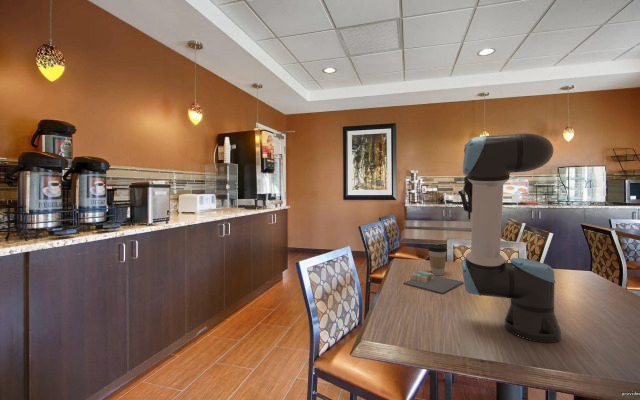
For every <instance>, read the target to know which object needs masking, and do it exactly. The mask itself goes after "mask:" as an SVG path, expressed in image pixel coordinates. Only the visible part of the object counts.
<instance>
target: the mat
mask: <svg viewBox="0 0 640 400" xmlns="http://www.w3.org/2000/svg"><path fill="white" fill-rule="evenodd" d="M463 284H464V281H461V280H458V279H452V278H447V277H444V276H443V277H442V276H440V275H434V279H433V280H430V281H428V282H426V283H423V282H419V281H415V280H411V279H409V280H407V281H403V285H405V286H409V287H413V288H417V289H421V290H424V291H429V292H432V293H436V294H440V295H444V294H447V293H449V292H451V291H452V290H453V289H456V288H457V287H460V286H462V285H463Z"/></svg>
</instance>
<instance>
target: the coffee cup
mask: <svg viewBox="0 0 640 400" xmlns="http://www.w3.org/2000/svg"><path fill="white" fill-rule="evenodd" d="M427 249H428V253H429V255H428V258H429V265H430V269H431V273H432V274H434V275H435V276H443V275H444V274H445V268H446V260H447V252H448V249H447V247H446V246H444V245H438V244H437V245H436V244H435V245H429V246H428V248H427Z"/></svg>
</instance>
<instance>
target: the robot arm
mask: <svg viewBox="0 0 640 400" xmlns="http://www.w3.org/2000/svg"><path fill="white" fill-rule="evenodd" d="M463 152H464V155H463V164H462V173H463V175H464V176H465V177H464V178H463V179H464V180H463V181H464V184H463V185H464V186H463V188H462V189H461V190H459V191H458V194H459V196H460V199H461V202H462V207H463V211H465V212H467V213H468V214H467V215H468V220H469V221H470V222H469V223H470V225H469V226H470V227H471V239H470V241H471V243H470V244H471V245H470V246H471V247H470V251H469V252H467V254H466V256H465V258H464V259H461V261H460V262H461V269H462V276H463V282H464V283H463V284H464V289H465V292H467V293H468V294H470V295H474V296H479V297H484V296H485V297H493V298H494V297H495V298H503V299H510V306H509V308H508V309H507V312H506V315H505V317H504V328H505V327H506V328H505V330H507V331H508V330H509V331H510V332H509V331H508V332H509V333H511V332H512V333H514V334H516V335H519V336H521V337H524V338H528V339H531V340H530V341H532V340H535V341H534V342H537V341H542V342H541V343H546V342H551V343H555V342H554V341H557V342H559V341H560V340H561V339H562V330H561V327H560V324H559V321H558V319H557V316H556V314H555V284H556V277H555V270H554V269H553V267H551V266H550V265H549V264H546V263H544V262H540V261H537V260H534V259H533V260H532V259H529V258H521V257H513V258H511V260H510V262H506V259H505V257H503V255H502V254H501V238H502V222H503V221H502V220H503V219H502V218H503V199H504V198H503V197H504V184H506V183H507V182H508V181H509V180H510V174H511V173H512V174H513V173H525V172H530V171H535V170H537V169H539V168H541V167H543V166H545V165H546V164H547V163H548V162H549V161H550V160H551V158H553V155H554V145H553V143H552V142H551V141H550V140H549V139H548V138H547V137H545V136H543V135H539V134H535V133H525V132H522V133H512V134H510V133H509V134H497V135H481V136H475V137H471V138H470V139H469V140H468V141H467V142H466V143H464V150H463ZM466 195H467V197H466ZM512 333H511V334H512ZM514 334H513V335H514ZM516 335H515V336H516ZM519 336H518V337H519ZM521 337H520V338H521ZM524 338H523V339H524ZM560 338H561V339H560ZM528 339H527V340H528ZM559 339H560V340H559ZM558 340H559V341H558Z"/></svg>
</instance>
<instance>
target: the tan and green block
mask: <svg viewBox="0 0 640 400" xmlns="http://www.w3.org/2000/svg"><path fill="white" fill-rule="evenodd" d="M433 279H434V274H432V272H427V271H422V270H419V271H416V272H413V273H411V274H410V279H409V280H415V281H419V282H423V283H426V282H428V281H430V280H433Z"/></svg>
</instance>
